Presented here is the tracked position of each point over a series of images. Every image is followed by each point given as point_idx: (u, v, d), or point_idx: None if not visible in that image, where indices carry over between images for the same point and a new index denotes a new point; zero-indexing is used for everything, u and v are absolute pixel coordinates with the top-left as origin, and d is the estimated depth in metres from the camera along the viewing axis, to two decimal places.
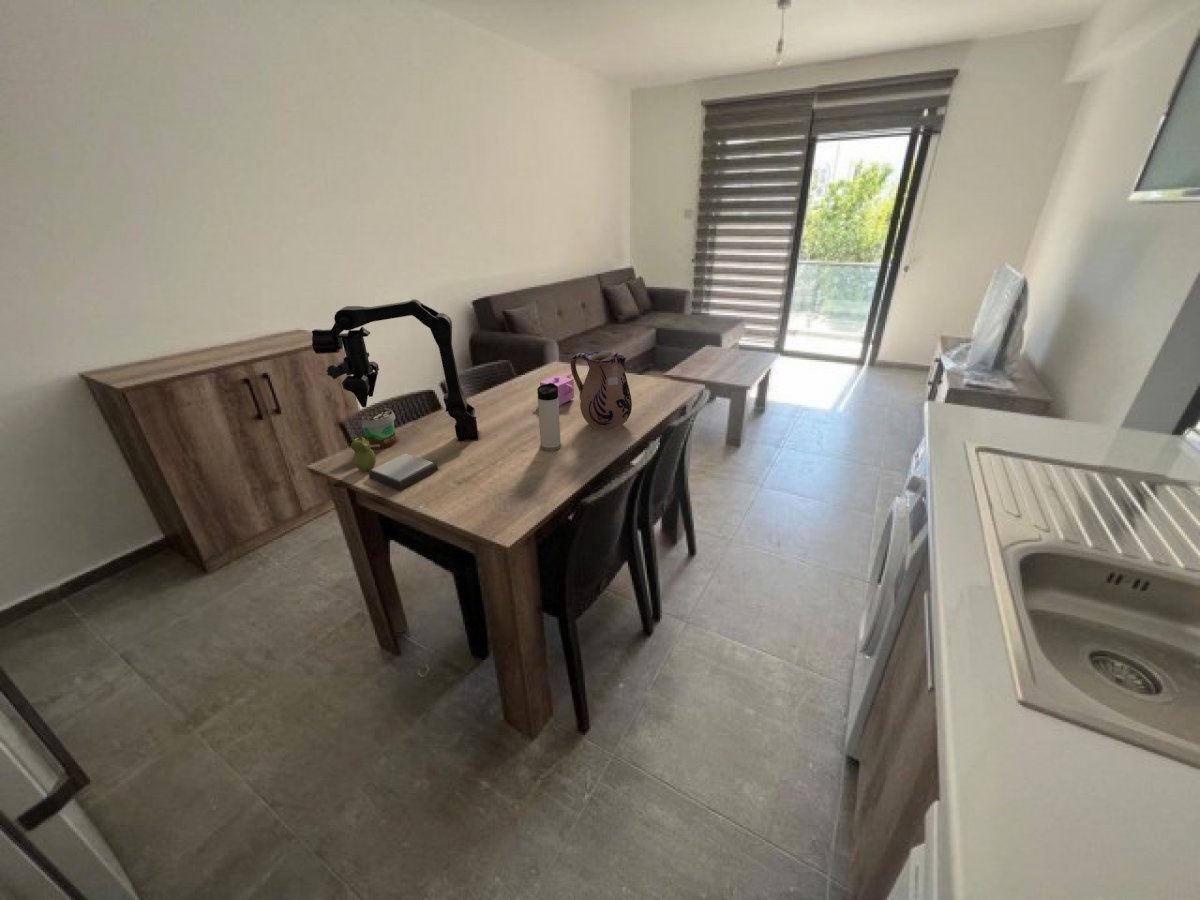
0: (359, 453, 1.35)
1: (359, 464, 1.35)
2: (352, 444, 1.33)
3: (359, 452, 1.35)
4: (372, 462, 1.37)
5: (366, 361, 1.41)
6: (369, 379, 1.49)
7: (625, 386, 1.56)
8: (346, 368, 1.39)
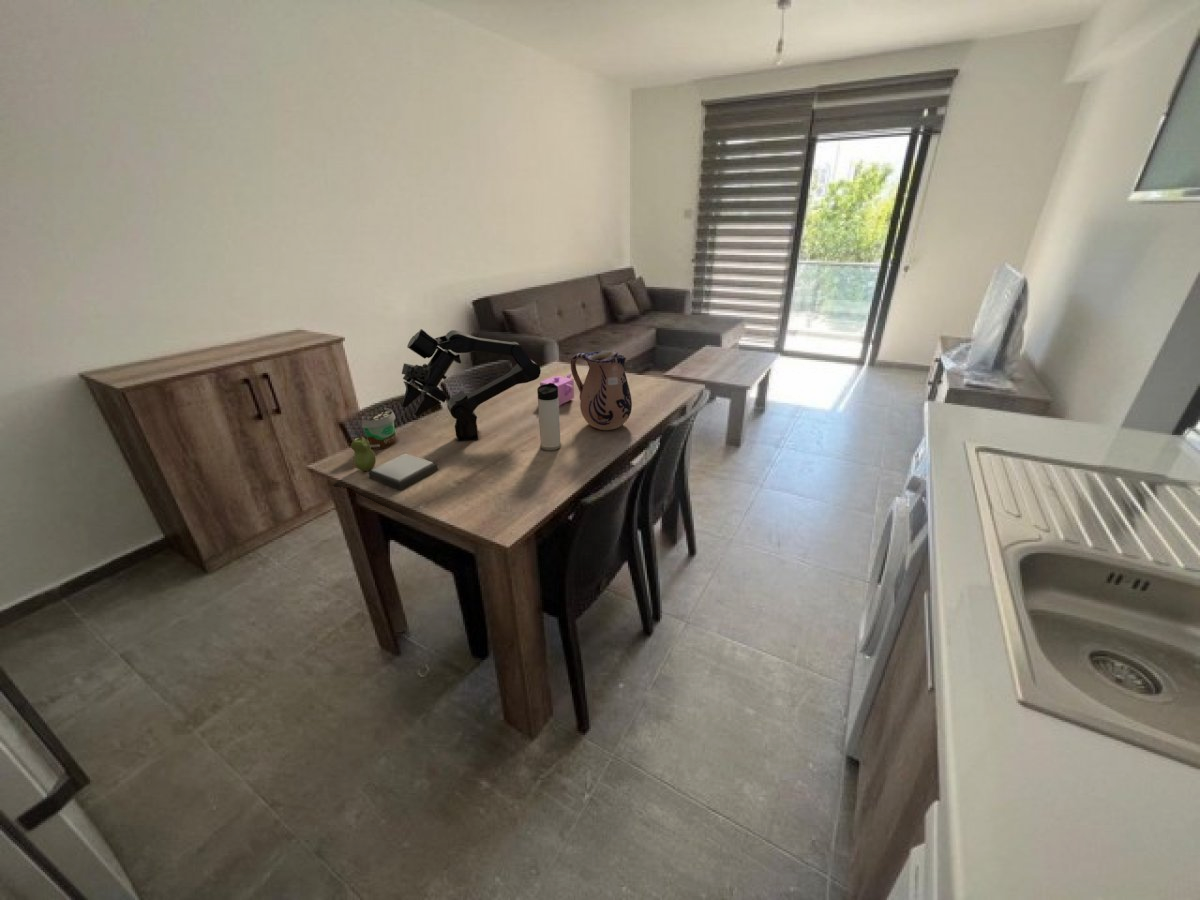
0: (359, 453, 1.35)
1: (359, 464, 1.35)
2: (352, 444, 1.33)
3: (359, 452, 1.35)
4: (372, 462, 1.37)
5: None
6: (414, 392, 1.47)
7: (625, 386, 1.56)
8: (427, 376, 1.40)
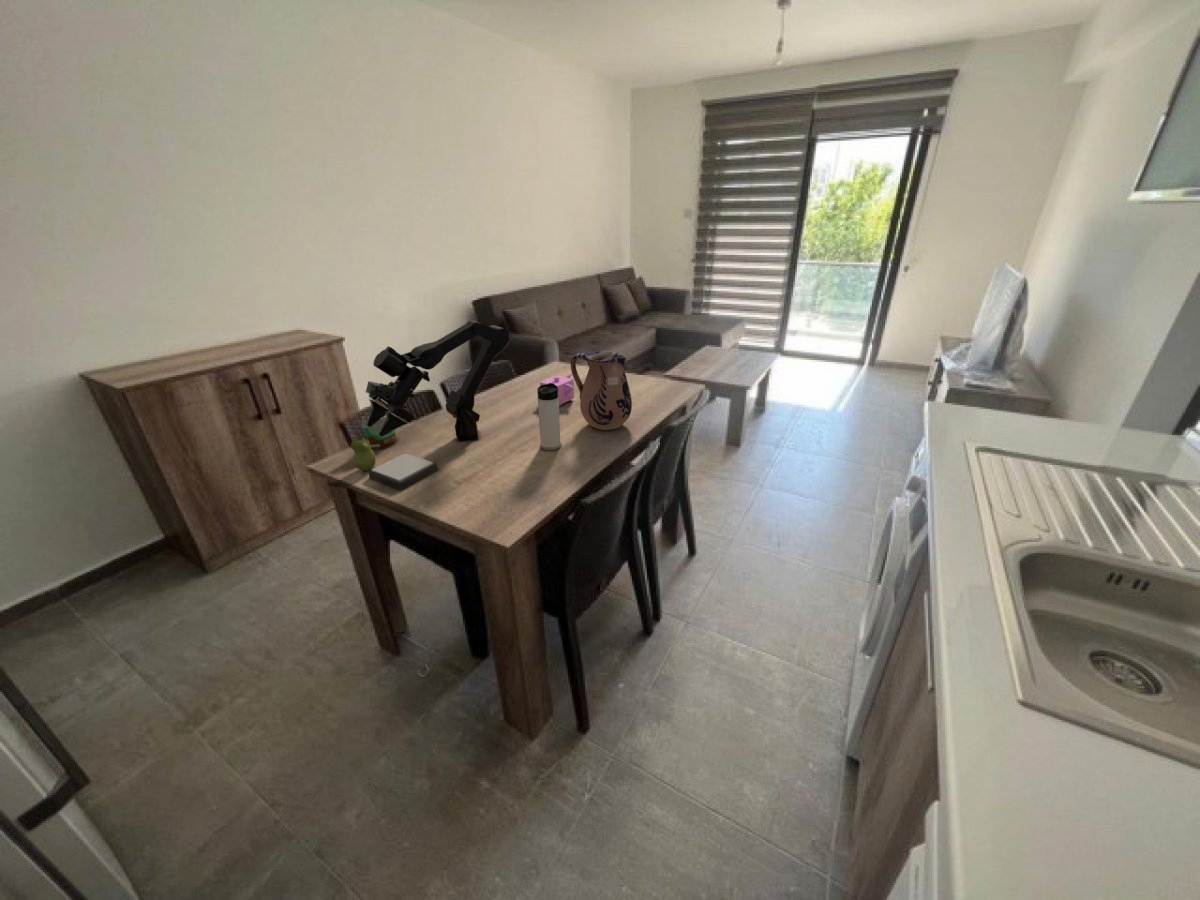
0: (359, 453, 1.35)
1: (359, 464, 1.35)
2: (352, 444, 1.33)
3: (359, 452, 1.35)
4: (372, 462, 1.37)
5: None
6: (380, 411, 1.41)
7: (625, 386, 1.56)
8: (393, 395, 1.34)
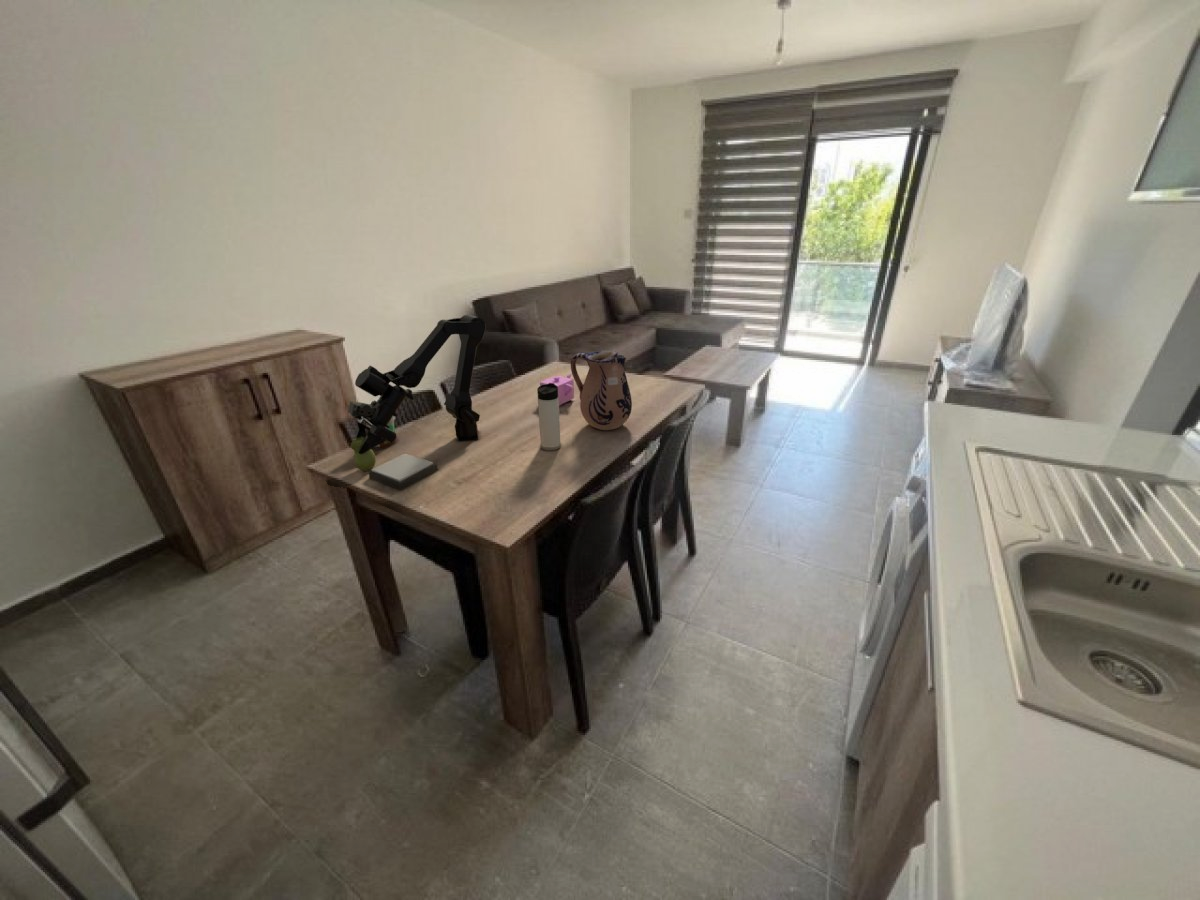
0: None
1: (359, 463, 1.35)
2: (352, 444, 1.33)
3: None
4: (372, 462, 1.37)
5: (391, 417, 1.37)
6: (366, 432, 1.38)
7: (625, 386, 1.56)
8: (375, 414, 1.32)
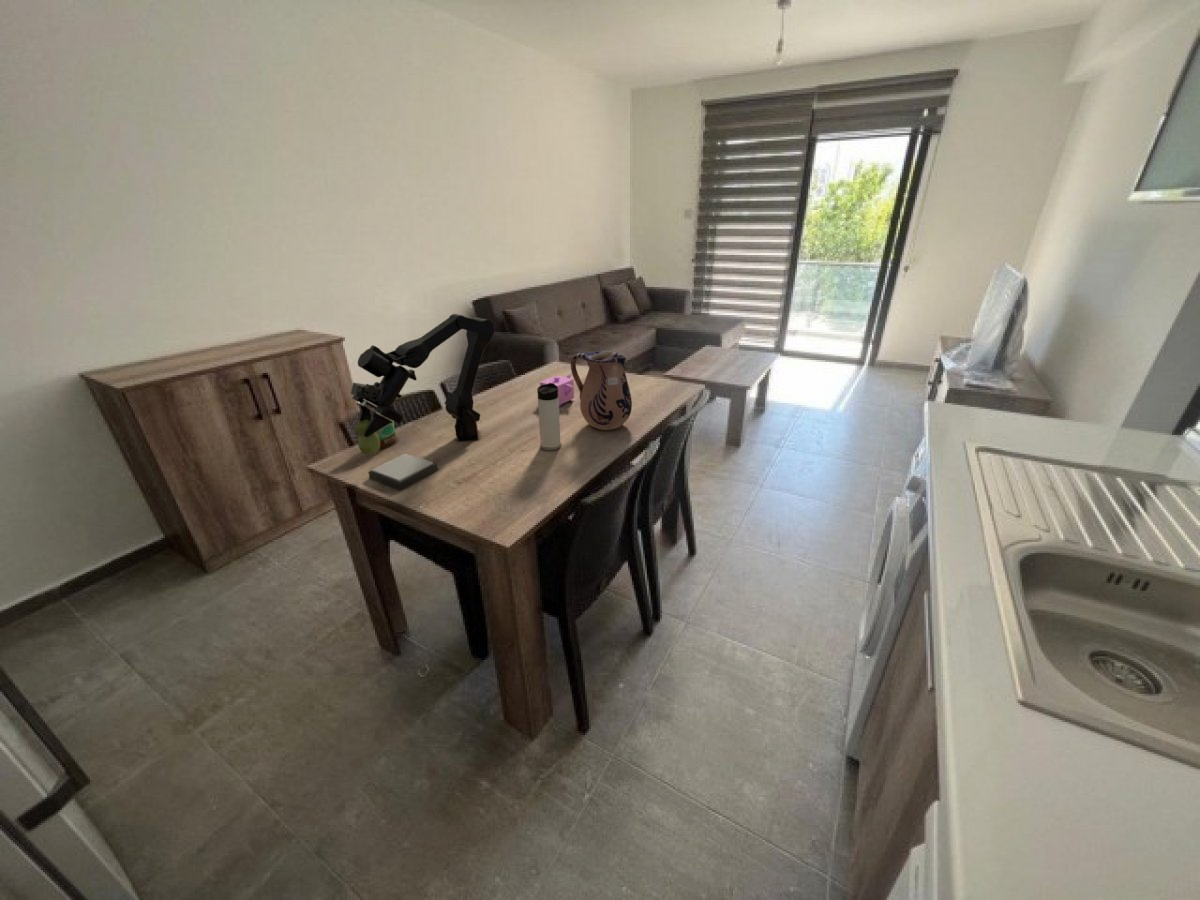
0: (363, 436, 1.32)
1: (364, 447, 1.32)
2: (356, 427, 1.30)
3: (363, 435, 1.31)
4: (377, 445, 1.33)
5: (395, 399, 1.34)
6: (369, 415, 1.34)
7: (625, 386, 1.56)
8: (380, 396, 1.29)
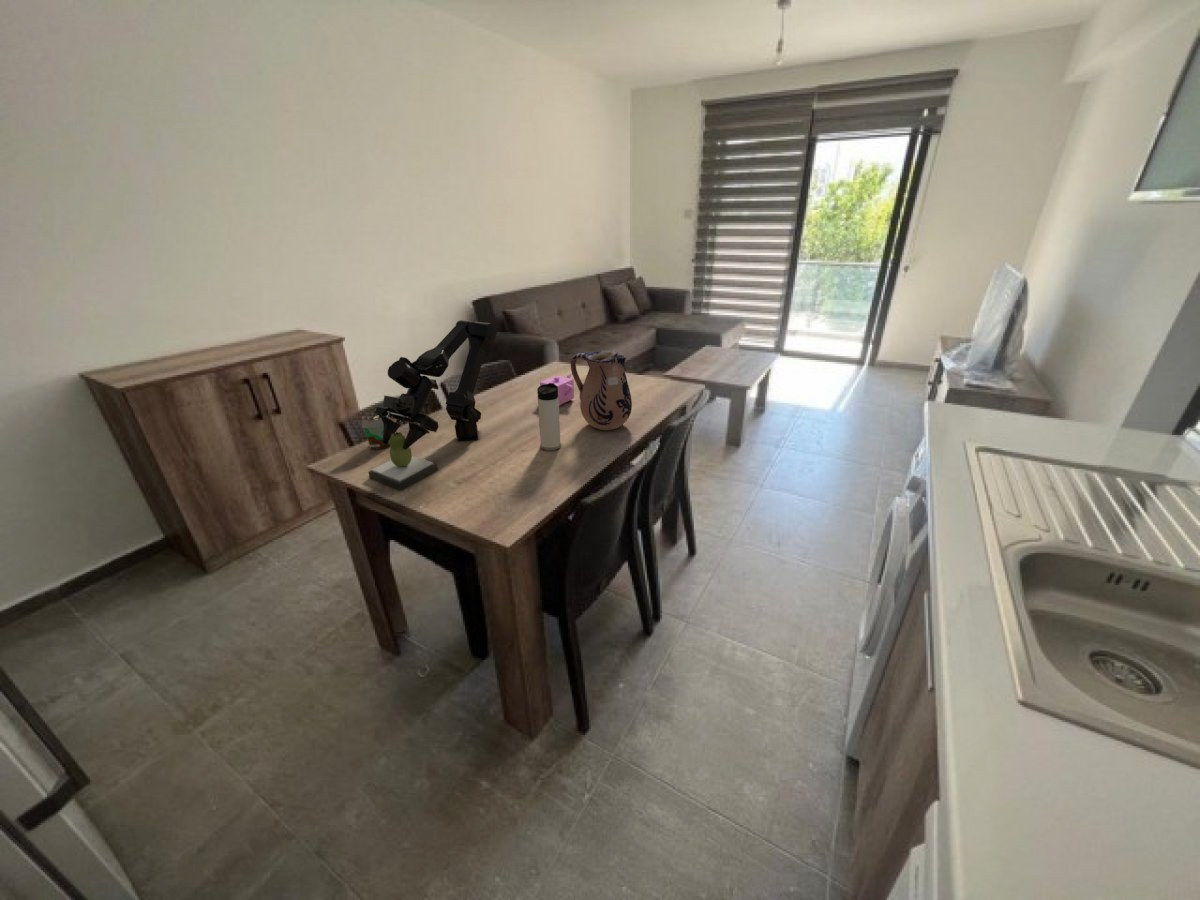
0: (397, 448, 1.31)
1: (399, 459, 1.32)
2: (391, 440, 1.30)
3: (397, 448, 1.31)
4: (411, 456, 1.34)
5: None
6: (393, 426, 1.34)
7: (625, 386, 1.56)
8: (412, 406, 1.30)
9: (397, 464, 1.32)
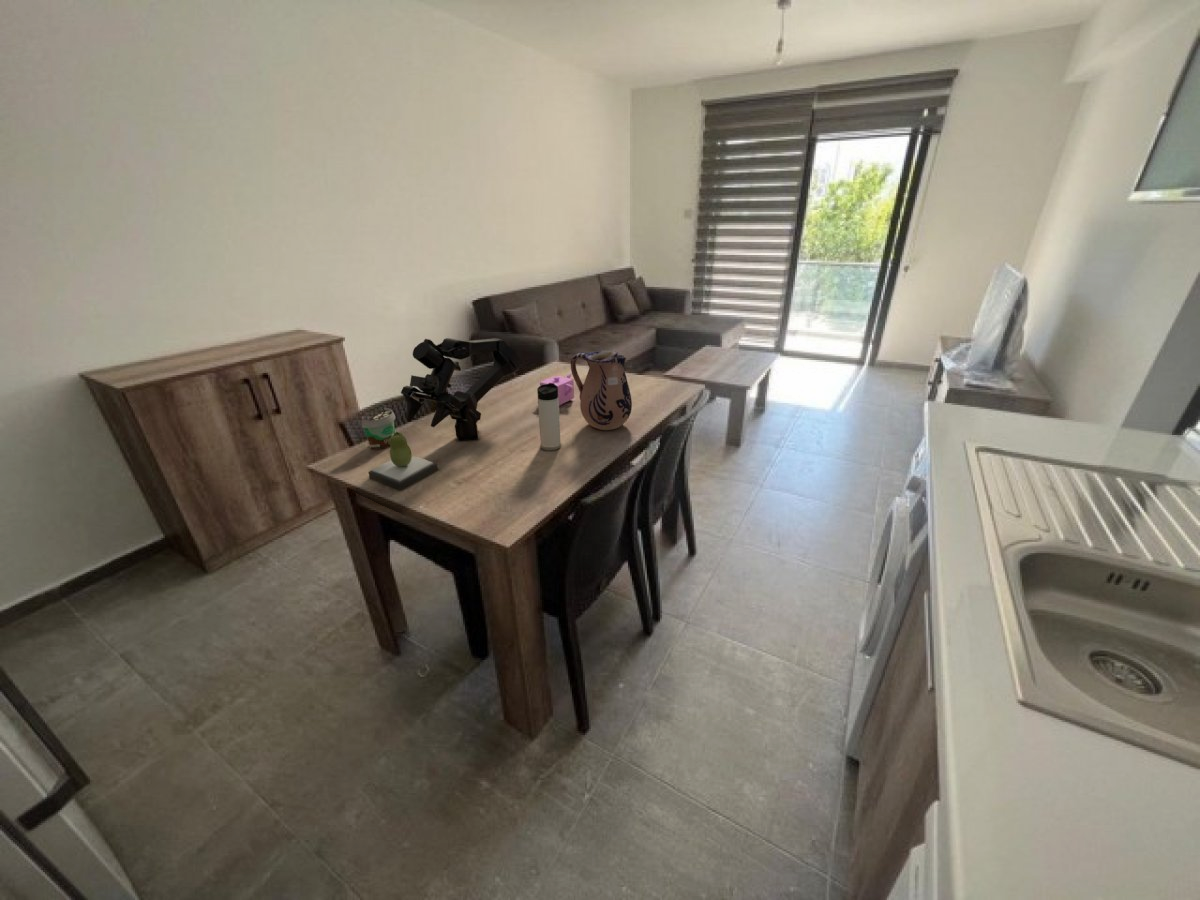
0: (397, 448, 1.31)
1: (399, 459, 1.32)
2: (391, 440, 1.30)
3: (397, 448, 1.31)
4: (411, 456, 1.34)
5: None
6: (416, 405, 1.43)
7: (625, 386, 1.56)
8: (437, 386, 1.38)
9: (397, 464, 1.32)
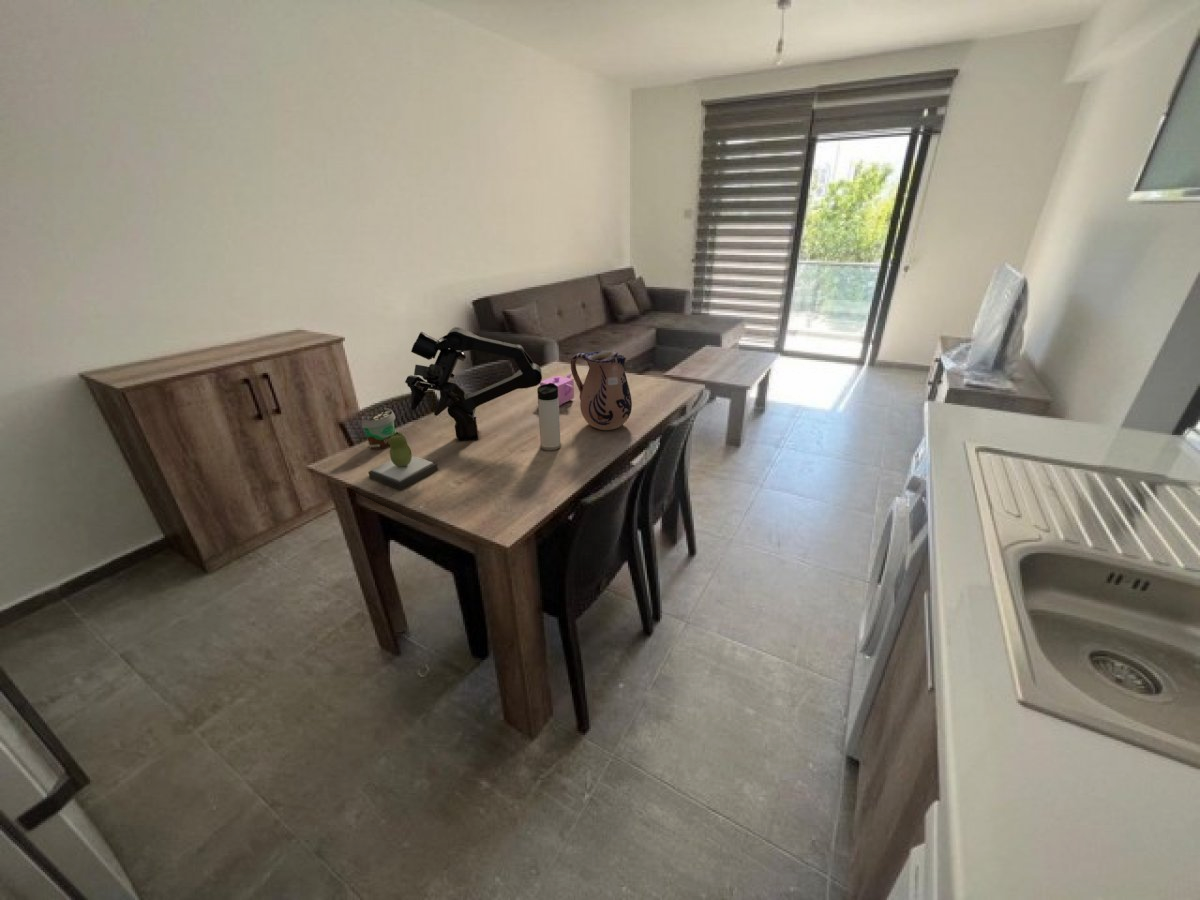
0: (397, 448, 1.31)
1: (399, 459, 1.32)
2: (391, 440, 1.30)
3: (397, 448, 1.31)
4: (411, 456, 1.34)
5: None
6: (420, 394, 1.46)
7: (625, 386, 1.56)
8: (440, 375, 1.41)
9: (397, 464, 1.32)
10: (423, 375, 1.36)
